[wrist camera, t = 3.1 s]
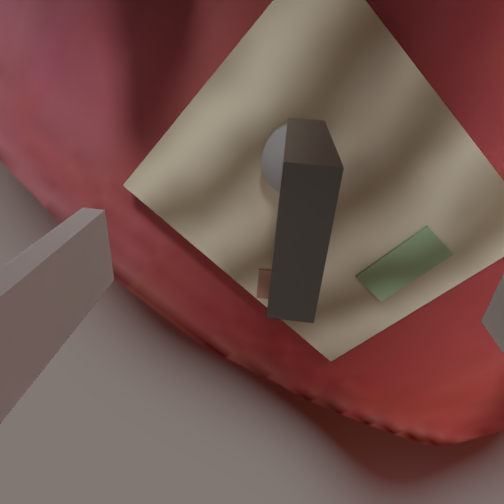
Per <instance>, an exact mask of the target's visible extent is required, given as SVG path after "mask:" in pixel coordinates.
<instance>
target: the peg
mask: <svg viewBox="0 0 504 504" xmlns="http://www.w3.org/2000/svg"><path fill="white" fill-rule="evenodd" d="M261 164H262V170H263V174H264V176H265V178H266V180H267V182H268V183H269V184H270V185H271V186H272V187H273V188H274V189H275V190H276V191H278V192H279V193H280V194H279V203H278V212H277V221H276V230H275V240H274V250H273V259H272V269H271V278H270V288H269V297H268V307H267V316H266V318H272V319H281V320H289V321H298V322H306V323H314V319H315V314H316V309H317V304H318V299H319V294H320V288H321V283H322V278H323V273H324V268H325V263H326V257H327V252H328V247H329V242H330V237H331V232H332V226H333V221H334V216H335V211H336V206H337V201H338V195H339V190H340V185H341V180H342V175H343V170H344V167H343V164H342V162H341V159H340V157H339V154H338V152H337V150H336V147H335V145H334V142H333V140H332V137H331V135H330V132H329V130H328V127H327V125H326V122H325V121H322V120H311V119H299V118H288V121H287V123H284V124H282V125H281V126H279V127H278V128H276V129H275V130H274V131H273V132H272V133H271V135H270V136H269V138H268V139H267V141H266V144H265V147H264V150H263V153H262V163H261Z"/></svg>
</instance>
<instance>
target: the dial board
mask: <svg viewBox="0 0 504 504" xmlns="http://www.w3.org/2000/svg"><path fill="white" fill-rule="evenodd" d="M288 118H299V119H311V120H322V121H325V122H326V125H327V127H328V130H329V132H330V135H331V137H332V140H333V142H334V145H335V147H336V150H337V152H338V154H339V157H340V159H341V162H342V164H343V167H344V170H343V175H342V180H341V185H340V190H339V195H338V201H337V206H336V211H335V216H334V221H333V226H332V232H331V237H330V242H329V247H328V252H327V257H326V263H325V268H324V273H323V278H322V283H321V288H320V294H319V299H318V304H317V309H316V314H315V319H314V323H306V322H298V321H289V320H282V321H283V322H284V323H286V324H287V325H288V326H289V327H290V328H292V329H293V330H294V331H295V332H296V333H297V334H299V335H300V336H301V337H302V338H303V339H305V340H306V341H307V342H308V343H309V344H310V345H312V346H313V347H314V348H315V349H316V350H318V351H319V352H320V353H321V354H322V355H323V356H325V357H326V358H327V359H328V360H329V361H330V362H331V361H333V360H334V359H336V358H338V357H339V356H341V355H343V354H344V353H346V352H348V351H349V350H351V349H353V348H354V347H356V346H357V345H359V344H361V343H362V342H364V341H366V340H367V339H369V338H371V337H372V336H374V335H376V334H377V333H379V332H381V331H382V330H384V329H385V328H387V327H389V326H390V325H392V324H394V323H395V322H397V321H399V320H400V319H402V318H404V317H405V316H407V315H409V314H410V313H412V312H413V311H415V310H417V309H418V308H420V307H422V306H423V305H425V304H427V303H428V302H430V301H432V300H433V299H435V298H437V297H438V296H440V295H441V294H443V293H445V292H446V291H448V290H450V289H451V288H453V287H455V286H456V285H458V284H460V283H461V282H463V281H465V280H466V279H468V278H469V277H471V276H473V275H474V274H476V273H478V272H479V271H481V270H483V269H484V268H486V267H488V266H489V265H491V264H493V263H494V262H496V261H497V260H499V259H501V258H502V257H504V181H503V180H502V178H501V177H500V176H499V174H498V173H497V172H496V170H495V169H494V168H493V166H492V165H491V164H490V162H489V161H488V160H487V159H486V157H485V156H484V155H483V153H482V152H481V151H480V149H479V148H478V147H477V145H476V144H475V143H474V142H473V140H472V139H471V138H470V136H469V135H468V134H467V132H466V131H465V130H464V128H463V127H462V126H461V125H460V123H459V122H458V121H457V119H456V118H455V117H454V115H453V114H452V113H451V111H450V110H449V109H448V108H447V106H446V105H445V104H444V102H443V101H442V100H441V98H440V97H439V96H438V94H437V93H436V92H435V90H434V89H433V88H432V87H431V85H430V84H429V83H428V81H427V80H426V79H425V77H424V76H423V75H422V73H421V72H420V71H419V70H418V68H417V67H416V66H415V64H414V63H413V62H412V60H411V59H410V58H409V56H408V55H407V54H406V53H405V51H404V50H403V49H402V47H401V46H400V45H399V43H398V42H397V41H396V39H395V38H394V37H393V36H392V34H391V33H390V32H389V30H388V29H387V28H386V26H385V25H384V24H383V22H382V21H381V20H380V18H379V17H378V16H377V15H376V13H375V12H374V11H373V9H372V8H371V7H370V5H369V4H368V3H367V1H366V0H273V1H272V2H271V4H270V5H269V6H268V7H267V9H266V10H265V11H264V12H263V13H262V15H261V16H260V17H259V18H258V20H257V21H256V22H255V23H254V25H253V26H252V27H251V28H250V29H249V31H248V32H247V33H246V34H245V36H244V37H243V38H242V39H241V41H240V42H239V43H238V44H237V46H236V47H235V48H234V49H233V50H232V52H231V53H230V54H229V55H228V57H227V58H226V59H225V60H224V62H223V63H222V64H221V65H220V66H219V68H218V69H217V70H216V71H215V73H214V74H213V75H212V76H211V78H210V79H209V80H208V81H207V82H206V84H205V85H204V86H203V87H202V89H201V90H200V91H199V92H198V94H197V95H196V96H195V97H194V98H193V100H192V101H191V102H190V103H189V105H188V106H187V107H186V108H185V110H184V111H183V112H182V113H181V114H180V116H179V117H178V118H177V119H176V121H175V122H174V123H173V124H172V126H171V127H170V128H169V129H168V130H167V132H166V133H165V134H164V135H163V137H162V138H161V139H160V140H159V142H158V143H157V144H156V145H155V146H154V148H153V149H152V150H151V151H150V153H149V154H148V155H147V156H146V158H145V159H144V160H143V161H142V163H141V164H140V165H139V166H138V167H137V169H136V170H135V171H134V172H133V174H132V175H131V176H130V177H129V179H128V180H127V181H126V182H125V183H124V185H123V186H124V187H125V188H126V189H128V190H129V191H130V192H131V193H132V194H134V195H135V196H136V197H137V198H138V199H139V200H141V201H142V202H143V203H144V204H145V205H147V206H148V207H149V208H150V209H151V210H152V211H154V212H155V213H156V214H157V215H158V216H160V217H161V218H162V219H163V220H164V221H165V222H167V223H168V224H169V225H170V226H171V227H172V228H174V229H175V230H176V231H177V232H178V233H180V234H181V235H182V236H183V237H184V238H185V239H187V240H188V241H189V242H190V243H191V244H193V245H194V246H195V247H196V248H197V249H198V250H200V251H201V252H202V253H203V254H204V255H205V256H207V257H208V258H209V259H210V260H211V261H213V262H214V263H215V264H216V265H217V266H218V267H220V268H221V269H222V270H223V271H224V272H226V273H227V274H228V275H229V276H230V277H231V278H233V279H234V280H235V281H236V282H237V283H239V284H240V285H241V286H242V287H243V288H244V289H246V290H247V291H248V292H249V293H250V294H251V295H253V296H254V297H255V298H256V299H257V300H259V301H260V302H261V303H262V304H263V305H264V306H266V307H268V297H269V288H270V278H271V269H272V259H273V250H274V240H275V230H276V221H277V212H278V203H279V194H280V193H279V192H278V191H276V190H275V189H274V188H273V187H272V186H271V185H270V184H269V183H268V182H267V180H266V178H265V176H264V174H263V170H262V164H261V163H262V153H263V150H264V147H265V144H266V141H267V139H268V138H269V136H270V135H271V133H272V132H273V131H274V130H275V129H276V128H278V127H279V126H281V125H282V124H284V123H287V121H288Z"/></svg>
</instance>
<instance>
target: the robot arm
mask: <svg viewBox="0 0 504 504" xmlns="http://www.w3.org/2000/svg"><path fill="white" fill-rule="evenodd" d="M113 281H114V274H113V267H112V259H111V252H110V244H109V237H108V229H107V222H106V214H105V210H101V209H91V208H81V209H80V210H79V211H77V212H76V213H74V214H73V215H72V216H70V217H69V218H68V219H66V220H65V221H64V222H62V223H61V224H59V225H58V226H57V227H55V228H54V229H53V230H51V231H50V232H49V233H47V234H46V235H44V236H43V237H42V238H40V239H39V240H38V241H36V242H35V243H34V244H32V245H31V246H29V247H28V248H27V249H25V250H24V251H23V252H21V253H20V254H19V255H17V256H16V257H15V258H13V259H12V260H10V261H9V262H8V263H6V264H5V265H3V266H2V267H1V268H0V424H1V422H2V421H3V420H4V418H5V417H6V416H7V415H8V413H9V412H10V411H11V410H12V408H13V407H14V406H15V405H16V403H17V402H18V401H19V400H20V398H21V397H22V396H23V394H24V393H25V392H26V390H27V389H28V388H29V387H30V386H31V384H32V383H33V382H34V381H35V379H36V378H37V377H38V375H39V374H40V373H41V372H42V370H43V369H44V368H45V367H46V365H47V364H48V363H49V361H50V360H51V359H52V358H53V356H54V355H55V354H56V353H57V351H58V350H59V349H60V347H61V346H62V345H63V344H64V342H65V341H66V340H67V339H68V338H69V336H70V335H71V334H72V333H73V331H74V330H75V329H76V327H77V326H78V325H79V324H80V322H81V321H82V320H83V319H84V317H85V316H86V315H87V314H88V312H89V311H90V310H91V308H92V307H93V306H94V305H95V303H96V302H97V301H98V300H99V298H100V297H101V296H102V295H103V293H104V292H105V291H106V289H107V288H108V287H109V286H110V284H111V283H112V282H113ZM481 322H482V324H483V325H484V326H485V328H486V329H487V331H488V332H489V334H490V335H491V336H492V338H493V339H494V341H495V342H496V343H497V345H498V346H499V348H500V349H501V351H502V352H503V353H504V274H503V276H502V278H501V280H500V282H499V284H498V287H497V289H496V291H495V293H494V295H493V297H492V299H491V302H490V304H489V306H488V308H487V310H486V312H485V314H484V316H483V319H482V321H481Z"/></svg>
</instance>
